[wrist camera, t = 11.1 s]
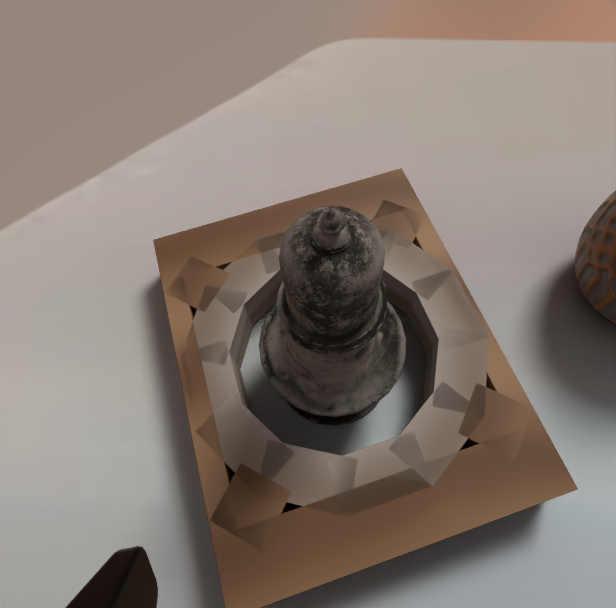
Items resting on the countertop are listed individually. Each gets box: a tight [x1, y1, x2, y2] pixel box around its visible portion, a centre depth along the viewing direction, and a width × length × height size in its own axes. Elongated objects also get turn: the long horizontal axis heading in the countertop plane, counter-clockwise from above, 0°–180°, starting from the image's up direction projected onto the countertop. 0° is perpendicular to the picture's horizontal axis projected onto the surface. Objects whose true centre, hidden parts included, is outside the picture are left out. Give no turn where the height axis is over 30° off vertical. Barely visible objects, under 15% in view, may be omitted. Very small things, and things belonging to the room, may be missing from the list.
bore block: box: [153, 168, 578, 608], centre depth 20 cm, size 16×13×2 cm
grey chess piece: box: [259, 206, 406, 425], centre depth 15 cm, size 6×6×12 cm
